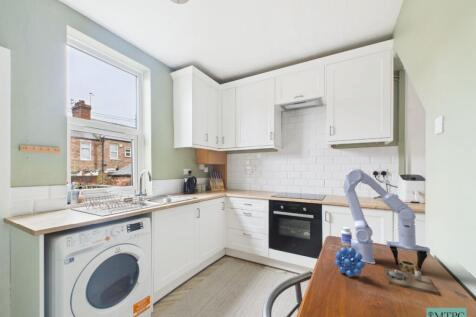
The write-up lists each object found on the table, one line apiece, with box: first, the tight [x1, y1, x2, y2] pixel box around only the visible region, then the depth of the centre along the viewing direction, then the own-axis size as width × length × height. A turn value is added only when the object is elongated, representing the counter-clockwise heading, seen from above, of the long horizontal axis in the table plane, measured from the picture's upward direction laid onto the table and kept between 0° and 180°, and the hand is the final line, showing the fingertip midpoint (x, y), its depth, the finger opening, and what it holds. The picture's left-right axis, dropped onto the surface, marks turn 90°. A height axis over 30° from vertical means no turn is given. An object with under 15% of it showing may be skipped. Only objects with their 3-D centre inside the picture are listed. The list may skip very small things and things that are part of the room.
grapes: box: [334, 246, 366, 278], centre depth 83 cm, size 12×7×12 cm, turn 39°
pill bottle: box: [340, 226, 353, 247], centre depth 118 cm, size 5×5×10 cm
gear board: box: [383, 267, 439, 296], centre depth 79 cm, size 14×12×4 cm
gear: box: [398, 259, 418, 274], centre depth 88 cm, size 6×7×3 cm
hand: (407, 266), depth 88 cm, fingers open, 7 cm apart
